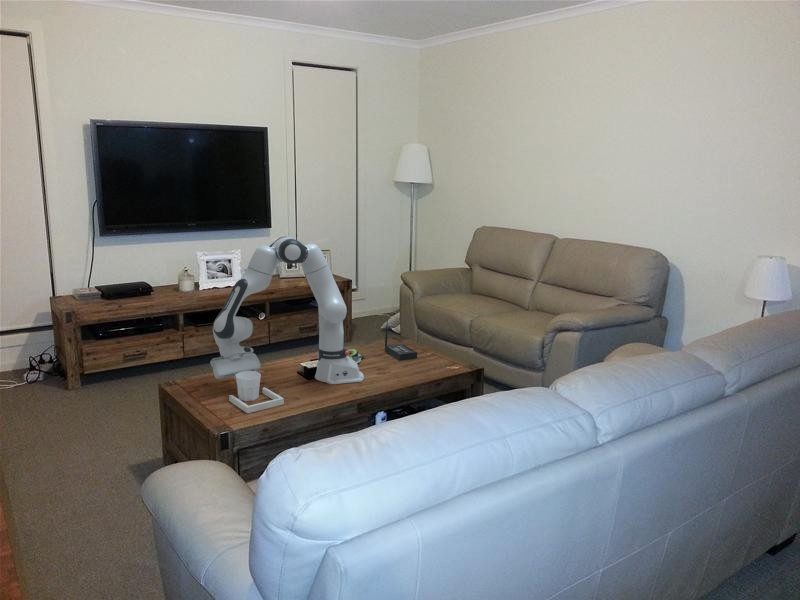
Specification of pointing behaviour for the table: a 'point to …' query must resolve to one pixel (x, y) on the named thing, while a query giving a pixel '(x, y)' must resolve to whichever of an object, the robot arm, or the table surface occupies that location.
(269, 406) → the white u-shaped frame
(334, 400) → the table surface
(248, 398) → the cup
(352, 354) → the salad plate
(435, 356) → the table surface
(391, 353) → the wifi router
